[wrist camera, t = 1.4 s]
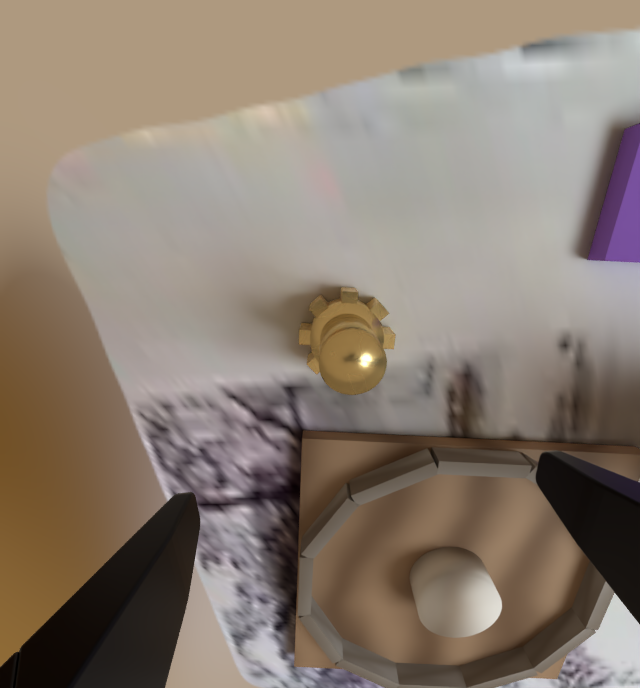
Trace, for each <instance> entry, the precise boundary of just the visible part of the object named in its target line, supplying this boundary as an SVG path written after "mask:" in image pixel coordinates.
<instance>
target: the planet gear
mask: <svg viewBox="0 0 640 688" xmlns="http://www.w3.org/2000/svg"><path fill="white" fill-rule="evenodd" d="M309 310H310V312H311V313H312V314H313V315H314V316H315V317H314V319H313V322H312V323H301V326H300V329H299V345H310V346H311V350H312V352H311V353H310V354H308V359H307V365H308V366H309V367H310V368H311V369H312V370H313V371H314V372H315V373H316V374H318V373H319V372H320V373H321V376H322V378H323V380H324V381H325V382H326V384H327V385H328V386H329V387H331V388H332V389H333V390H335V391H337V392H340V393H343V394H348V395H356V394H361V393H364V392H367V391H369V390H371V389H372V388H374V387H375V386H376V385H377V384H378V383H379V382H380V381H381V379H382V378H383V376H384V373H385V370H386V366H387V360H386V354H385V351H384V349H394V343H395V333H394V332H393V331H392V330H391V328H390V327H382V325H381V323H380V321H381V320H382V319H383V318H384V317H385V316H387V315H388V314H389V313H388V312H387V310H386V309H385V308H384V307H383V306H382V305H381V303H380V302H379V301H378V300H377V299H376V298H375V297H374V298H373V299H372V300H371V301H370V302H368V303H367V304H365V303H363V302H361V301H359V300H358V291H357V290H356V288H346V287H341V294H340V298H338V299H335V300H332V301H330V302H327V301H326V300H325V299H324V298H323V297H322V296H321V295H319V296H318V297H317V298H316V299H315V300H314V301H313V302H312V303H311V304H310V306H309Z"/></svg>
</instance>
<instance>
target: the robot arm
mask: <svg viewBox="0 0 640 688" xmlns="http://www.w3.org/2000/svg"><path fill="white" fill-rule="evenodd" d="M535 478H536V483H537V485H538V487H539V488H540V490H541V491H542V493H543V494H544V496H545V497H546V499H547V500H548V502H549V503H550V505H551V506H552V508H553V509H554V511H555V512H556V514H557V515H558V517H559V518H560V520H561V521H562V523H563V524H564V526H565V527H566V529H567V530H568V532H569V533H570V535H571V536H572V538H573V539H574V541H575V542H576V543H577V545H578V546H579V547H580V549H581V550H582V551H583V553H584V554H585V555H586V557H587V558H588V559H589V560H590V562H591V563H592V564H593V566H594V567H595V568H596V569H597V571H598V572H599V573H600V574H601V576H602V577H603V578H604V580H605V581H606V582H607V583H608V585H609V586H610V587H611V588H612V590H613V591H614V592H615V594H616V595H617V596H618V597H619V599H620V600H621V601H622V602H623V604H624V605H625V606H626V607H627V609H628V610H629V611H630V613H631V614H632V615H633V616H634V618H635V619H636V620H637V621H638V623H639V624H640V482H637V481H635V480H632V479H630V478H627V477H625V476H622V475H620V474H617V473H615V472H612V471H610V470H607V469H605V468H602V467H600V466H597V465H595V464H592V463H590V462H587V461H585V460H582V459H580V458H577V457H575V456H572V455H569V454H567V453H564V452H562V451H558V450H554V451H545V452H542V453H541V455H540V457H539V462H538V466H537V471H536V476H535ZM199 530H200V516H199V511H198V507H197V502H196V497H195V495H194V493H192V492H186V493H178V494H175V495H174V496H173V497H172V498H171V499H170V500H169V501H168V502H167V503H166V504H165V505H164V506H163V507H162V508H161V509H160V510H159V511H158V512H157V513H156V514H155V515H154V516H153V517H152V518H151V519H150V520H149V521H148V522H147V523H146V524H144V525H143V527H142V528H141V529H140V530H138V531H137V533H135V534H134V535H133V536H132V538H130V539H129V540H128V541H127V542H126V543H125V544H124V545H123V546H122V547H121V548H120V549H119V550H118V551H117V552H116V553H115V554H114V555H113V556H112V557H111V558H110V559H109V560H108V561H107V562H106V563H105V564H104V565H103V566H102V567H101V568H100V569H99V570H98V571H97V572H96V573H95V574H94V575H93V576H92V577H91V578H90V579H89V580H88V581H87V582H86V583H85V584H84V585H83V586H82V587H81V588H80V589H79V590H78V591H77V592H76V593H75V594H74V595H73V596H72V597H71V598H70V599H69V600H68V601H67V602H66V603H65V604H64V605H63V606H62V607H61V608H60V609H59V610H58V611H57V612H56V613H55V614H54V615H53V616H52V617H51V618H50V619H49V620H48V621H47V622H46V623H45V624H44V625H43V626H42V627H41V628H40V629H38V630H37V631H36V633H34V634H33V635H32V636H31V637H30V639H28V641H26V642H25V643H24V644H23V645H22V647H21V648H20V651H19V652H16V653H14V654H13V655H12V656H11V657H10V658H9V659H8V660H7V661H6V662H5V663H4V664H3V665H2V666H1V667H0V688H165V685H166V681H167V677H168V674H169V670H170V666H171V662H172V659H173V655H174V651H175V648H176V644H177V640H178V636H179V632H180V628H181V625H182V621H183V617H184V614H185V609H186V605H187V601H188V596H189V591H190V585H191V579H192V573H193V567H194V561H195V555H196V548H197V542H198V536H199Z"/></svg>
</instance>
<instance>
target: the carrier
mask: <svg viewBox="0 0 640 688" xmlns="http://www.w3.org/2000/svg"><path fill="white" fill-rule="evenodd" d="M554 450H558V451H562V452H564V453H567V454H569V455H572V456H575V457H577V458H580V459H582V460H585V461H587V462H590V463H592V464H595V465H597V466H600V467H602V468H605V469H607V470H610V471H612V472H615V473H617V474H620V475H622V476H625V477H627V478H630V479H632V480H635V481H637V482H638V481H639V478H640V449H639V448H637V447H636V446H616V445H595V444H574V443H553V442H532V441H512V440H491V439H470V438H449V437H428V436H407V435H386V434H366V433H345V432H324V431H303V435H302V456H301V486H300V515H299V544H298V573H297V602H296V631H295V661H294V667H314V668H335V669H344V670H347V671H349V672H351V673H353V674H356V675H358V676H360V677H362V678H365V679H367V680H369V681H372V682H374V683H376V684H378V685H381V686H383V687H385V688H495V687H498V686H502V685H505V684H509V683H512V682H516V681H519V680H523V679H526V678H546V679H557V677H558V675H559V673H560V670H561V668H562V665H563V663H564V660H565V658H566V656H567V654H568V653H569V652H571V651H572V650H573V649H575V648H576V647H577V646H579V645H580V644H581V643H583V642H584V641H585V640H587V639H588V638H589V637H591V636H592V635H593V634H594V633H596V632H595V630H598V629H599V627H600V624H601V622H602V620H603V617H604V615H605V613H606V611H607V608H608V606H609V604H610V602H611V599H612V597H613V595H614V593H615V592H614V591H613V590H612V588H611V587H610V586H609V585H608V583H607V582H606V581H605V580H604V578H603V577H602V576H601V574H600V573H599V572H598V571H597V569H596V568H595V567H594V566H593V564H592V563H591V562H590V560H589V559H588V558H587V557H586V555H585V554H584V553H583V551H582V550H581V549H580V547H579V546H578V545H577V543H576V542H575V541H574V539H573V538H572V536H571V535H570V533H569V532H568V530H567V529H566V527H565V526H564V524H563V523H562V521H561V520H560V518H559V517H558V515H557V514H556V512H555V511H554V509H553V508H552V506H551V505H550V503H549V502H548V500H547V499H546V497H545V496H544V494H543V493H542V491H541V490H540V488H539V487H538V485H537V483H536V478H535V476H536V471H537V466H538V462H539V457H540V455H541V453H542V452H545V451H554Z"/></svg>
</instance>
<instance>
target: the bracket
mask: <svg viewBox="0 0 640 688" xmlns="http://www.w3.org/2000/svg"><path fill="white" fill-rule="evenodd" d="M588 260H600V261H620V262H639V263H640V123H639V124H637V125H634V126H632V127H629V128H626V129H625V130H624V134H623V137H622V141H621V144H620V148H619V151H618V155H617V158H616V162H615V165H614V169H613V172H612V176H611V179H610V183H609V186H608V190H607V193H606V197H605V200H604V204H603V207H602V211H601V214H600V218H599V221H598V225H597V228H596V232H595V235H594V239H593V242H592V246H591V249H590V253H589V256H588Z"/></svg>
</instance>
